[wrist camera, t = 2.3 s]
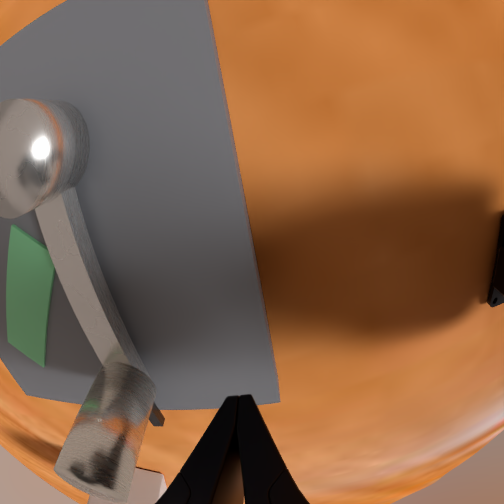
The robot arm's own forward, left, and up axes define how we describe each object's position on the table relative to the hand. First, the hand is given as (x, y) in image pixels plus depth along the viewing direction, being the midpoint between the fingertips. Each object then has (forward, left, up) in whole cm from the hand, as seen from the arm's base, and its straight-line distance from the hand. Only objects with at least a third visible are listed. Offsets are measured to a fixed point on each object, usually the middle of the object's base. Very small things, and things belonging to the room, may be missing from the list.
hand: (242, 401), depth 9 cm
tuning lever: (+6, -3, -3) cm, 8 cm away
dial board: (+9, -6, -6) cm, 12 cm away
